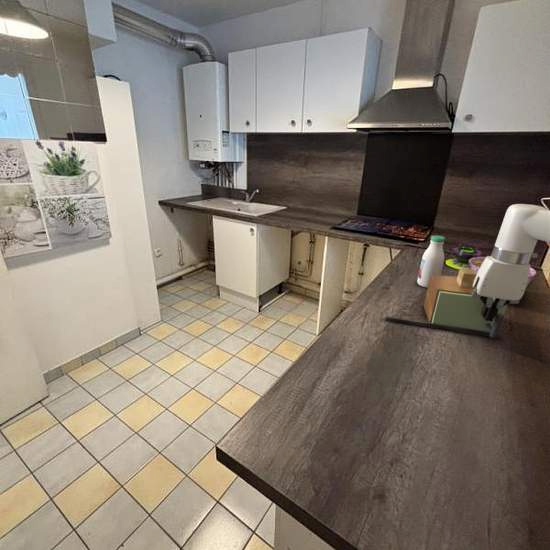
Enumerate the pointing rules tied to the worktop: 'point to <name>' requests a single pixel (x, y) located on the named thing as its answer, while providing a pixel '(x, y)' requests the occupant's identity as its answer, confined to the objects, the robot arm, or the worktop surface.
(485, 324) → the sliding door
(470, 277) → the block
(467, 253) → the toy cauldron
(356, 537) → the worktop surface
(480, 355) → the worktop surface
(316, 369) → the worktop surface
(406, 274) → the worktop surface
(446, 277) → the cupboard
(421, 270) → the milk bottle
